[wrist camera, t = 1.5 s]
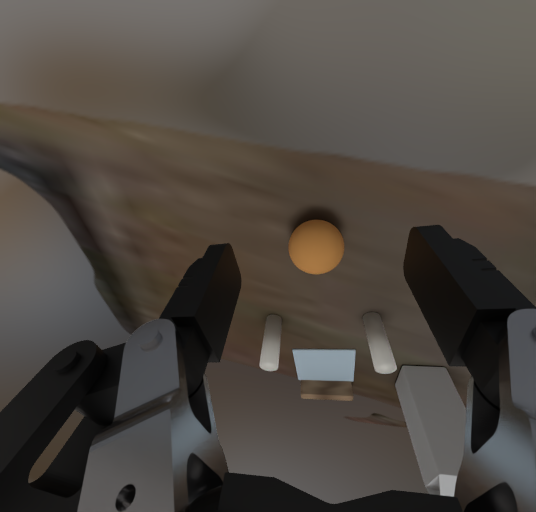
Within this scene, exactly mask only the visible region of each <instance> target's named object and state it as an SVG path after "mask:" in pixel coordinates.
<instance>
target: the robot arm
mask: <svg viewBox="0 0 536 512" xmlns="http://www.w3.org/2000/svg"><path fill="white" fill-rule="evenodd" d="M403 269H404V276H405V279H406V281H407V283H408V285H409V287H410V289H411V291H412V293H413V295H414V297H415V299H416V301H417V303H418V305H419V307H420V309H421V311H422V313H423V315H424V317H425V319H426V321H427V323H428V325H429V327H430V329H431V331H432V333H433V335H434V337H435V339H436V341H437V343H438V345H439V347H440V349H441V351H442V353H443V355H444V357H445V359H446V361H447V363H448V365H449V366H467V368H468V370H469V372H470V374H471V375H472V376H471V378H470V380H469V382H468V392H467V408H466V424H465V440H464V453H463V459H462V463H461V466H460V469H459V472H458V475H457V479H456V485H455V492H454V497H452V496H443V495H434V494H424V493H415V492H406V491H396V490H390V491H386V492H382V493H379V494H375V495H371V496H367V497H363V498H359V499H355V500H351V501H347V502H343V503H339V504H329V503H327V502H324V501H322V500H320V499H318V498H316V497H314V496H312V495H310V494H308V493H306V492H303V491H301V490H299V489H297V488H295V487H293V486H291V485H289V484H287V483H285V482H282V481H281V480H279V479H277V478H274V477H264V476H256V475H246V474H237V473H229V470H228V466H227V462H226V458H225V455H224V452H223V449H222V447H221V445H220V442H219V439H218V435H217V430H216V425H215V419H214V414H213V408H212V403H211V398H210V392H209V386H208V381H207V376H206V374H205V369H206V366H207V363H208V362H220V359H221V356H222V352H223V349H224V345H225V342H226V338H227V335H228V331H229V328H230V324H231V321H232V317H233V314H234V310H235V306H236V303H237V299H238V296H239V292H240V289H241V274H240V271H239V268H238V265H237V261H236V258H235V255H234V252H233V249H232V247H231V245H230V244H229V243H227V244H216V245H210V246H209V247H208V249H207V251H206V252H205V254H204V256H203V258H199V259H197V260H196V261H195V262H194V263H193V264H192V265H191V266H190V267H189V268H188V270H187V271H186V273H185V275H184V276H183V279H182V280H181V282H180V283H179V285H178V286H179V287H177V288H176V290H175V292H174V294H173V295H172V297H171V299H170V300H169V302H168V304H167V306H166V307H165V309H164V311H163V312H162V314H161V316H160V318H159V319H156V320H152V321H150V322H148V323H146V324H144V325H142V326H141V327H139V328H138V329H137V330H136V331H135V332H134V333H133V334H132V335H131V336H130V337H129V339H128V340H127V342H126V343H123V344H120V345H117V346H114V347H111V348H107V349H104V350H101V349H100V348H99V347H98V346H97V345H96V344H95V343H94V342H92V341H89V340H84V341H80V342H77V343H74V344H72V345H70V346H68V347H66V348H65V349H63V350H62V351H60V352H59V353H58V354H57V355H55V356H54V357H53V358H52V359H51V360H50V361H49V362H48V363H47V364H46V365H45V366H44V367H43V368H42V369H41V370H40V371H39V373H37V374H36V376H35V377H34V378H33V379H32V380H31V381H30V382H29V383H28V384H27V385H26V386H25V387H24V388H23V389H22V390H21V391H20V392H19V393H18V394H17V395H16V397H14V398H13V399H12V401H11V402H10V403H9V404H8V405H7V406H6V407H5V408H4V409H3V410H2V411H1V412H0V512H536V307H535V306H534V305H533V304H532V303H531V302H530V301H529V300H528V299H527V298H526V297H525V296H524V295H523V294H522V293H521V292H520V291H519V290H518V289H517V288H516V287H515V286H514V285H513V284H512V283H511V282H510V281H509V280H508V279H507V278H506V277H505V276H504V275H503V274H502V273H501V272H500V271H499V270H498V271H497V270H496V267H495V266H494V265H493V264H492V263H491V262H490V261H487V258H486V257H485V256H484V255H483V254H482V253H481V252H480V251H479V250H478V249H477V248H476V247H474V246H472V245H470V244H469V243H467V242H465V241H463V240H461V239H459V238H457V239H453V238H452V237H451V236H450V235H449V234H448V233H447V232H446V231H445V230H444V229H443V227H442V226H440V225H431V226H420V227H413V228H412V229H411V230H410V233H409V238H408V243H407V249H406V254H405V259H404V266H403ZM74 410H76V411H78V412H79V413H81V414H82V415H84V416H85V417H84V418H83V419H82V421H81V422H80V424H79V425H78V427H77V428H76V429H75V431H74V432H73V434H72V435H71V436H70V438H69V439H68V441H67V442H66V443H65V445H64V446H63V448H62V449H61V451H60V452H59V453H58V455H57V456H56V458H55V459H54V461H53V462H52V463H51V465H50V466H49V468H48V469H47V470H46V472H45V473H44V474H43V475H42V476H41V477H40V478H38V479H37V480H35V481H34V482H32V483H28V477H29V473H30V470H31V468H32V466H33V465H34V463H35V462H36V460H37V459H38V458H39V456H40V455H41V454H42V452H43V451H44V449H45V448H46V447H47V446H48V444H49V443H50V442H51V440H52V439H53V438H54V436H55V435H56V434H57V432H58V431H59V430H60V428H61V427H62V426H63V424H64V423H65V422H66V420H67V419H68V417H69V416H70V415H71V414H72V412H73V411H74Z"/></svg>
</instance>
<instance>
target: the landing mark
mask: <svg viewBox="0 0 536 512" xmlns="http://www.w3.org/2000/svg"><path fill="white" fill-rule="evenodd" d="M293 355H294V360H295V365H296V370H297V375H298V380H323V381H354V365H355V349H293Z"/></svg>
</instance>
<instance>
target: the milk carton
mask: <svg viewBox="0 0 536 512" xmlns="http://www.w3.org/2000/svg"><path fill="white" fill-rule="evenodd" d="M395 387H396V390H397V393H398V397H399V400H400V404H401V407H402V410H403V414H404V417H405V420H406V424H407V427H408V431H409V434H410V437H411V441H412V444H413V448H414V451H415V454H416V458H417V461H418V464H419V467H420V471H421V475H422V478H423V481H424V484H425V487H426V489H427V491H428V492H429V494H434V495H443V496H452V497H454V492H455V485H456V479H457V475H458V472H459V469H460V466H461V463H462V459H463V453H464V440H465V424H466V408H465V406H464V404H463V402H462V400H461V398H460V396H459V394H458V392H457V390H456V388H455V386H454V384H453V381H452V379H451V377H450V375H449V373H448V371H447V369H446V368H445V367H427V366H402V368H401V371H400V373H399V376H398V378H397V381H396V383H395Z"/></svg>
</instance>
